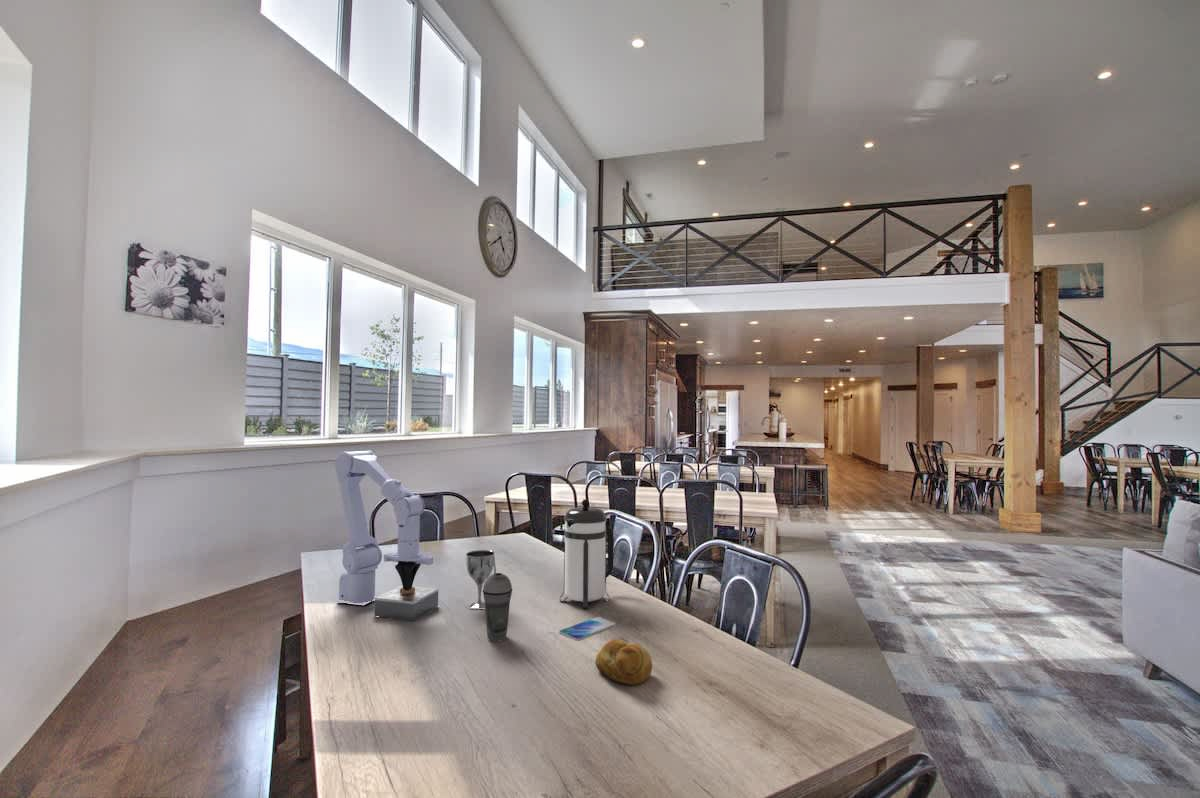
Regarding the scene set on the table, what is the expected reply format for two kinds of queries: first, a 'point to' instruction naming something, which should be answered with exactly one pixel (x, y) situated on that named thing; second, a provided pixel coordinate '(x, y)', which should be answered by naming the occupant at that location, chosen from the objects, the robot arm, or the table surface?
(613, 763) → the table surface
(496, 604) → the beverage cup
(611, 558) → the coffee press
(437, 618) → the table surface
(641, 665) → the bread roll
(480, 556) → the wine glass
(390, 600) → the press
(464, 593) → the table surface
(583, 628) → the smartphone
